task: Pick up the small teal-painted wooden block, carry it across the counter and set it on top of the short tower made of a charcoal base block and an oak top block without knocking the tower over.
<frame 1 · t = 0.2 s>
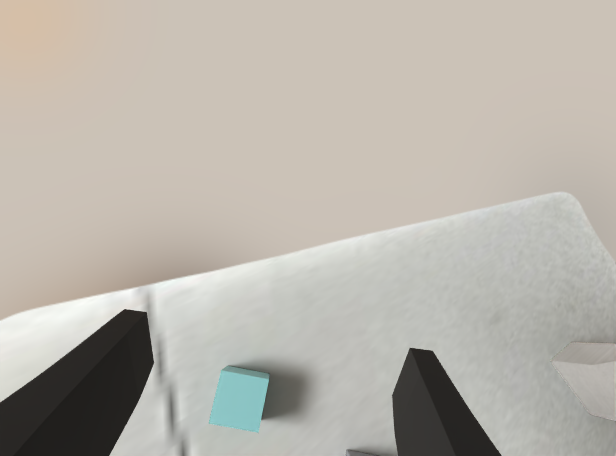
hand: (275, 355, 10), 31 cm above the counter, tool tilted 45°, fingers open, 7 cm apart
tea box: (578, 377, 42), on the counter
teal block: (243, 392, 38), on the counter
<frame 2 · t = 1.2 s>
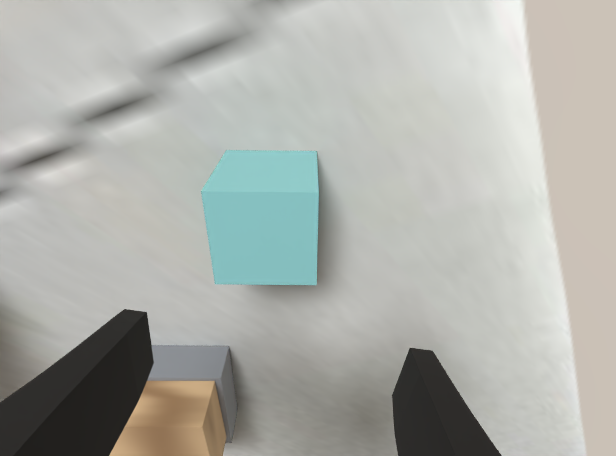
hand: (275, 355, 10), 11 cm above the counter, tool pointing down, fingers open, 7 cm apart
tower base: (187, 374, 27), on the counter, touching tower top
teal block: (273, 191, 20), on the counter
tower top: (176, 410, 25), point 3 cm above the counter, touching tower base
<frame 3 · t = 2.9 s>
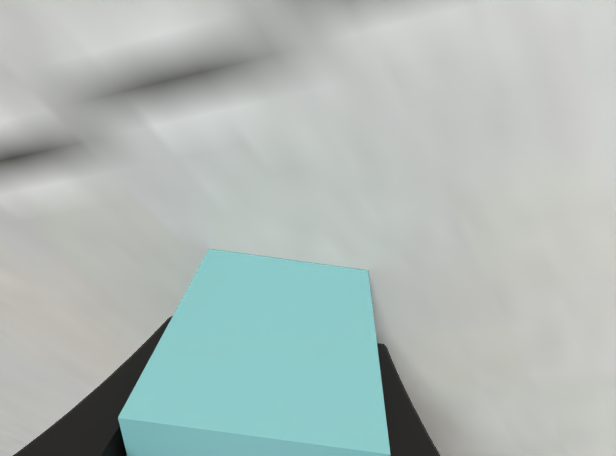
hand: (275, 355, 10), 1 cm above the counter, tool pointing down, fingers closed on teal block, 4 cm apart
teal block: (282, 318, 11), on the counter, touching gripper
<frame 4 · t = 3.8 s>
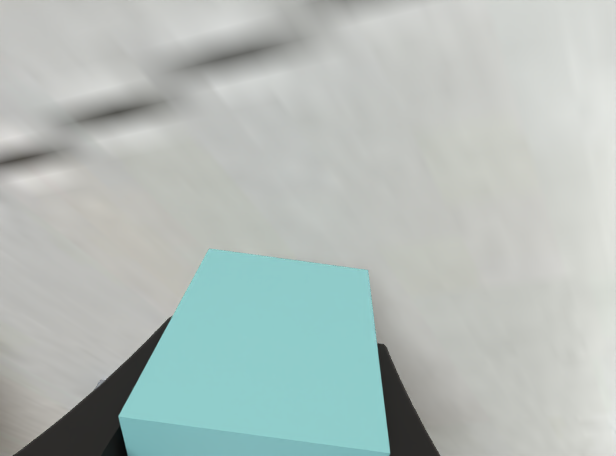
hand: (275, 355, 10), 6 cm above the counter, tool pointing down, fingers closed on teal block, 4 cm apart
teal block: (282, 317, 12), point 5 cm above the counter, touching gripper
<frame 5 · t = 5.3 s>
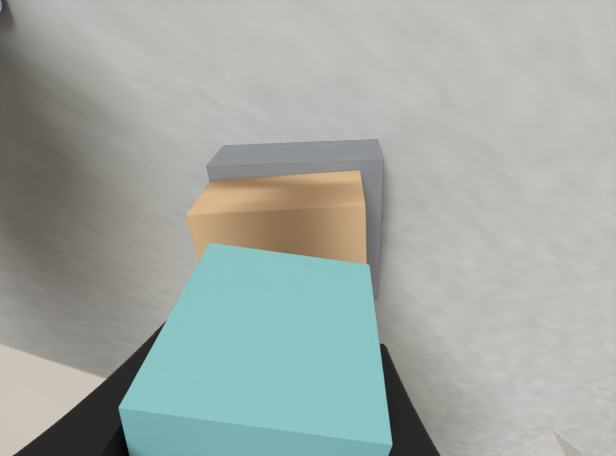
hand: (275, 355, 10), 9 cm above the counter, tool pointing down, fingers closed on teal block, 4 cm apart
tea box: (522, 455, 28), on the counter
tower base: (304, 207, 19), on the counter, touching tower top
teal block: (282, 313, 11), point 8 cm above the counter, touching gripper
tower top: (292, 239, 16), point 3 cm above the counter, touching tower base
when the fingers open (8 cm above the counter, at t = 6.0 s): teal block drops 1 cm, resting on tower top.
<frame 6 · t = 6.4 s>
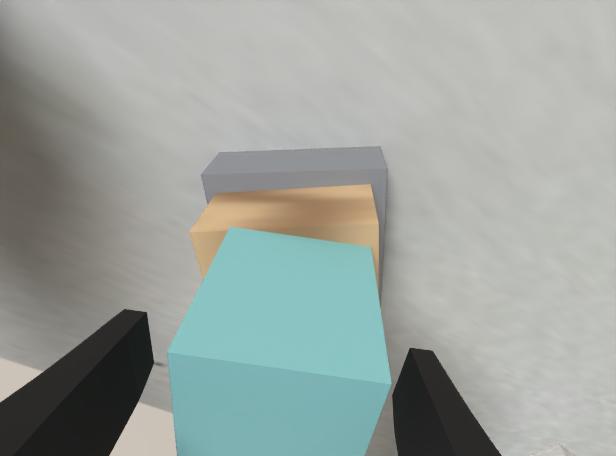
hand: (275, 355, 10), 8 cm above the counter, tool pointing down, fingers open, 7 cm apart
tower base: (304, 216, 18), on the counter, touching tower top
teal block: (293, 291, 13), point 6 cm above the counter, touching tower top
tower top: (299, 253, 16), point 3 cm above the counter, touching teal block, tower base
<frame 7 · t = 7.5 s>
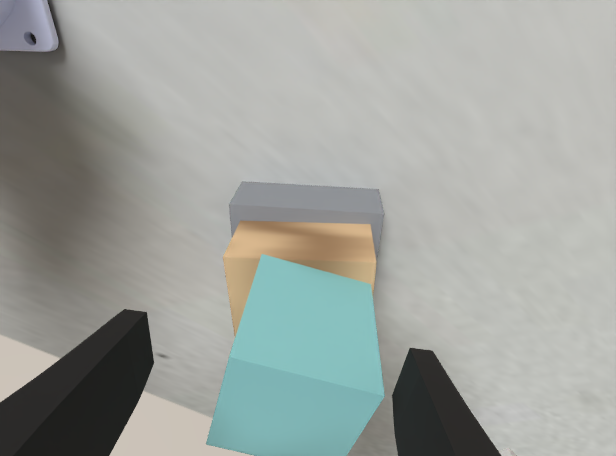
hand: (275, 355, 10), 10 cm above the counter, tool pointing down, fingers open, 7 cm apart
tower base: (308, 239, 21), on the counter, touching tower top
teal block: (301, 309, 16), point 6 cm above the counter, touching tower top
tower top: (305, 274, 18), point 3 cm above the counter, touching teal block, tower base
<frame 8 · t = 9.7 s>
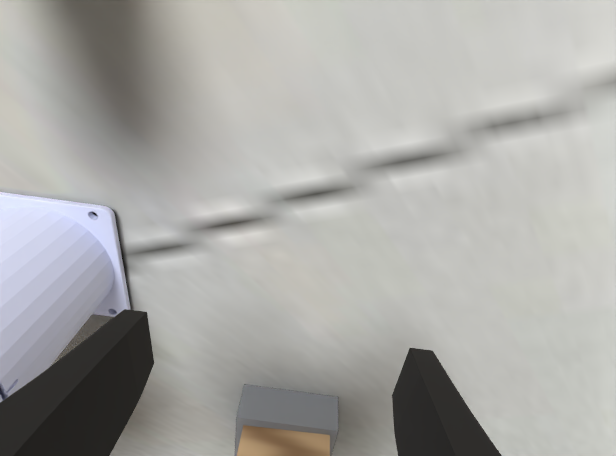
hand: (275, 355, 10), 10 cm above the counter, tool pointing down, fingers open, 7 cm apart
tower base: (287, 413, 29), on the counter, touching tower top
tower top: (284, 453, 27), point 3 cm above the counter, touching teal block, tower base
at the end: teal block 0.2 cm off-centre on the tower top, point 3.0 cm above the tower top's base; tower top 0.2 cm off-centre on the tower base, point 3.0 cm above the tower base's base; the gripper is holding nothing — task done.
